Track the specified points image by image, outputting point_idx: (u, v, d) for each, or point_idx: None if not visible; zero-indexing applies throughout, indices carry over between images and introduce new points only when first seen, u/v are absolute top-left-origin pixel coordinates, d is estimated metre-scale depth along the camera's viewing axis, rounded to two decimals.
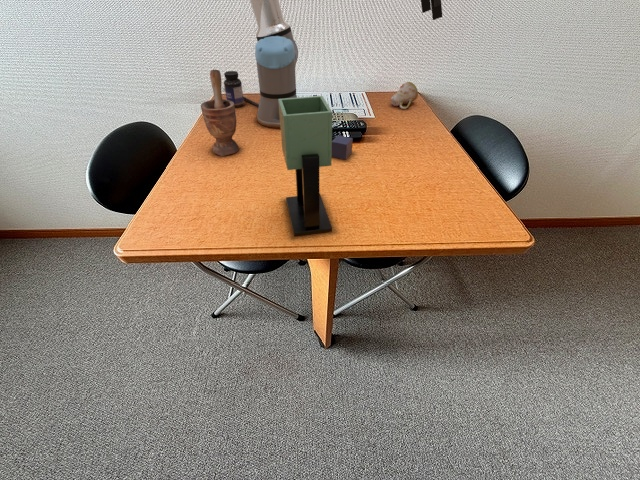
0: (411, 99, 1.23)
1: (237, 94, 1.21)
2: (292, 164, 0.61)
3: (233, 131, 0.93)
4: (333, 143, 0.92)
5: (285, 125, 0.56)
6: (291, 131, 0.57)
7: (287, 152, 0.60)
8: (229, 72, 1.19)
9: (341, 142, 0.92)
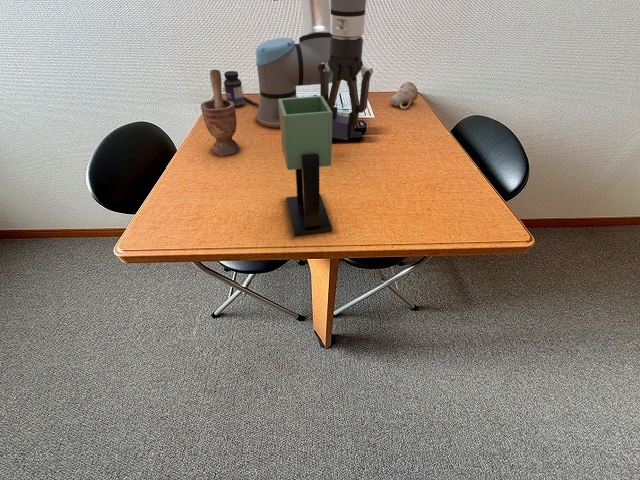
0: (411, 99, 1.23)
1: (237, 94, 1.21)
2: (292, 164, 0.61)
3: (233, 131, 0.93)
4: (333, 122, 0.89)
5: (285, 125, 0.56)
6: (291, 131, 0.57)
7: (287, 152, 0.60)
8: (229, 72, 1.19)
9: (341, 121, 0.88)
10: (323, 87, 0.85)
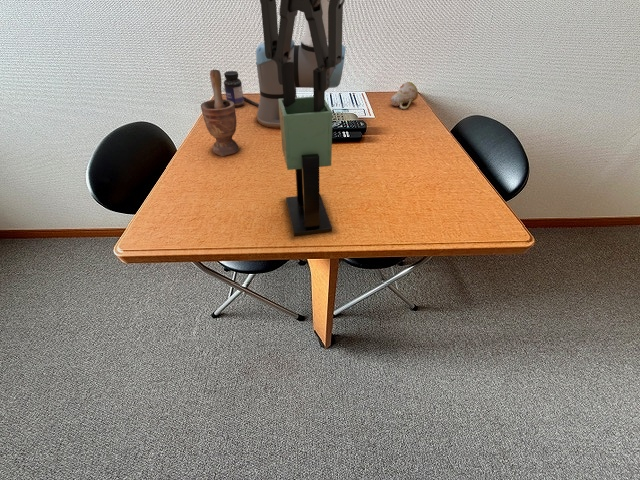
0: (411, 99, 1.23)
1: (237, 94, 1.21)
2: (292, 164, 0.61)
3: (233, 131, 0.93)
4: None
5: (285, 125, 0.56)
6: (291, 131, 0.57)
7: (287, 152, 0.60)
8: (229, 72, 1.19)
9: None
10: (267, 26, 0.52)
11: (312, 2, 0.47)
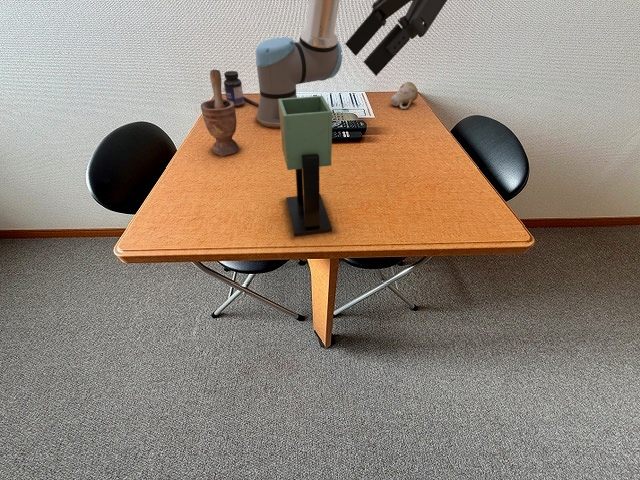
0: (411, 99, 1.23)
1: (237, 94, 1.21)
2: (292, 164, 0.61)
3: (233, 131, 0.93)
4: None
5: (285, 125, 0.56)
6: (291, 131, 0.57)
7: (287, 152, 0.60)
8: (229, 72, 1.19)
9: None
10: None
11: None
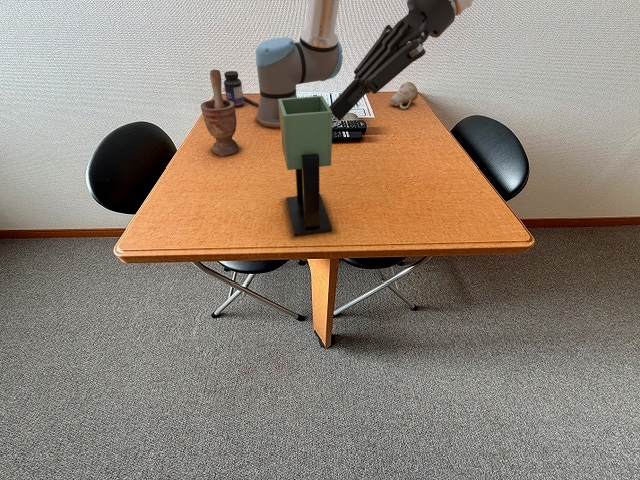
0: (411, 99, 1.23)
1: (237, 94, 1.21)
2: (292, 164, 0.61)
3: (233, 131, 0.93)
4: None
5: (285, 125, 0.56)
6: (291, 131, 0.57)
7: (287, 152, 0.60)
8: (229, 72, 1.19)
9: None
10: None
11: None
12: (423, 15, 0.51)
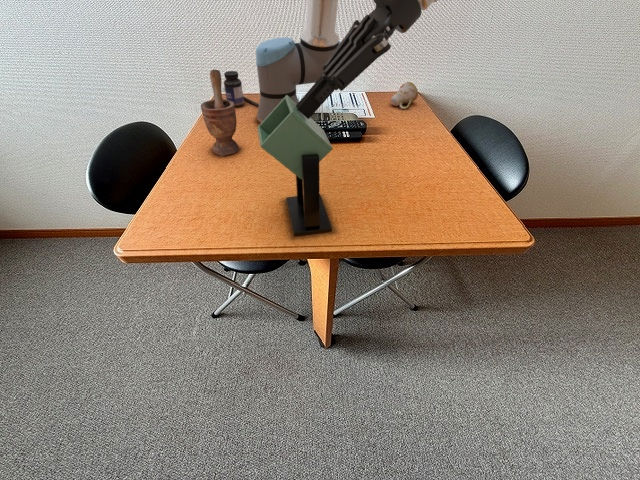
0: (411, 99, 1.23)
1: (237, 94, 1.21)
2: (300, 172, 0.63)
3: (233, 131, 0.93)
4: None
5: (268, 151, 0.59)
6: (276, 151, 0.59)
7: (288, 167, 0.62)
8: (229, 72, 1.19)
9: None
10: None
11: None
12: (388, 9, 0.50)
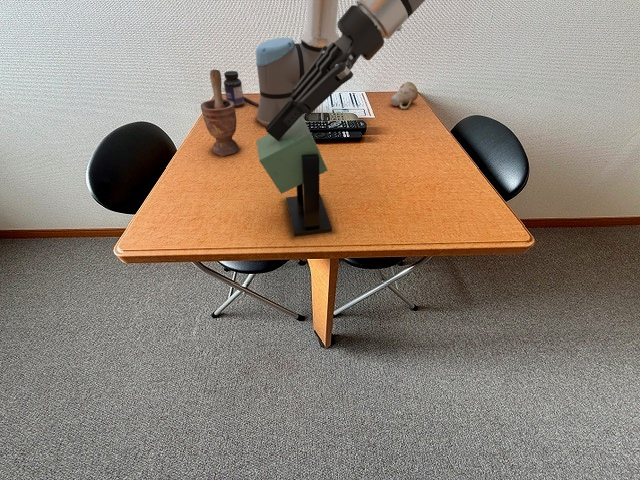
0: (411, 99, 1.23)
1: (237, 94, 1.21)
2: (320, 169, 0.63)
3: (233, 131, 0.93)
4: None
5: (288, 189, 0.65)
6: (291, 183, 0.64)
7: None
8: (229, 72, 1.19)
9: None
10: None
11: None
12: (351, 38, 0.52)
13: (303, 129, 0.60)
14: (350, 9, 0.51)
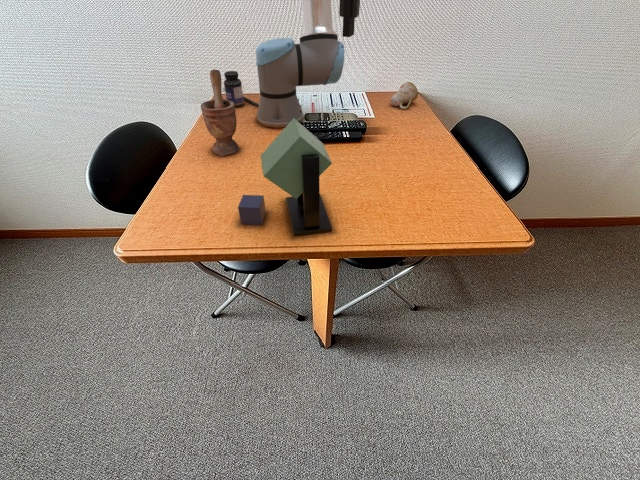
0: (411, 99, 1.23)
1: (237, 94, 1.21)
2: (324, 164, 0.63)
3: (233, 131, 0.93)
4: (241, 208, 0.70)
5: (301, 193, 0.66)
6: (301, 186, 0.65)
7: None
8: (229, 72, 1.19)
9: (251, 205, 0.70)
10: None
11: None
12: None
13: (295, 132, 0.60)
14: None
